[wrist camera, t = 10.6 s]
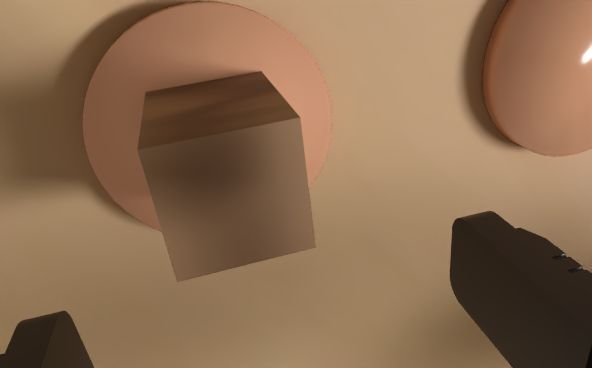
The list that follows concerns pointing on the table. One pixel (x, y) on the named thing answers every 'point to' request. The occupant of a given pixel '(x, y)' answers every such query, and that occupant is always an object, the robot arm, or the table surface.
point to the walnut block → (225, 173)
